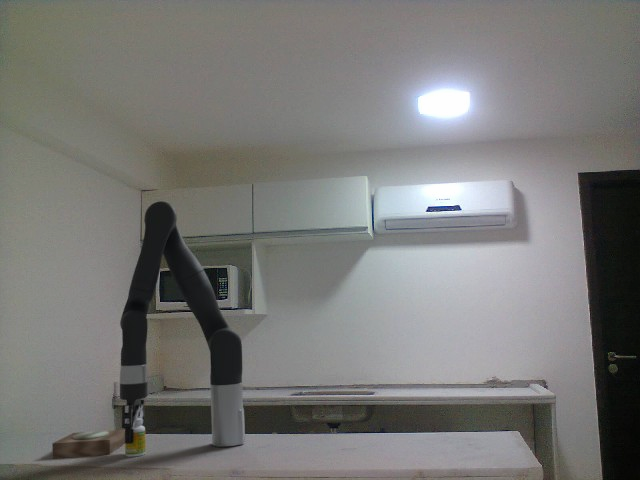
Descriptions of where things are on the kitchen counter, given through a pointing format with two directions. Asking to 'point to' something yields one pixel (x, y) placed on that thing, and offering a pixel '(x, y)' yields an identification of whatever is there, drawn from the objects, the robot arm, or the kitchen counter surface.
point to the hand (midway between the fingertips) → (133, 440)
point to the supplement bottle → (137, 441)
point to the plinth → (88, 443)
